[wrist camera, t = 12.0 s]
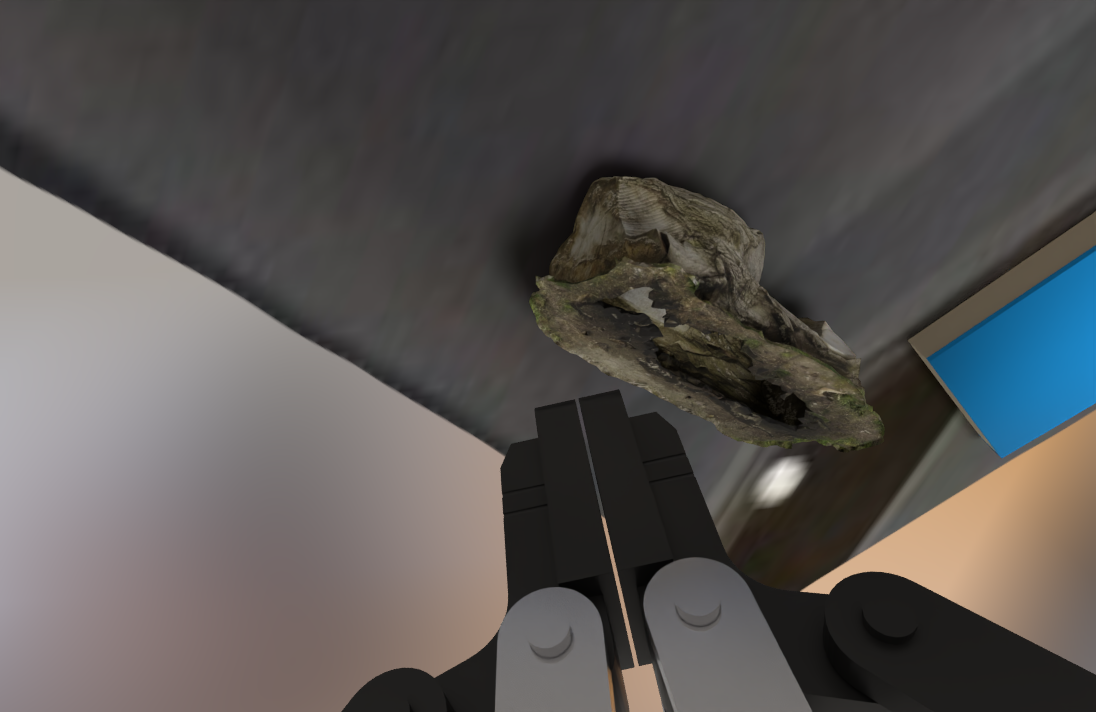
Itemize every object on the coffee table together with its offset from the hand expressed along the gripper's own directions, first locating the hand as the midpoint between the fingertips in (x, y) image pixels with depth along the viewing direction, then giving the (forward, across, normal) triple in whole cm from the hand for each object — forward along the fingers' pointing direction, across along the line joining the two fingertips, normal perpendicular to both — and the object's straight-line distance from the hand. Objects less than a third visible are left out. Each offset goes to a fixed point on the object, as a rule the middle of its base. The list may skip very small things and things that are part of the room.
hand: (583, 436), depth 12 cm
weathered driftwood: (+35, -11, +20) cm, 42 cm away
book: (+36, -44, +30) cm, 64 cm away
